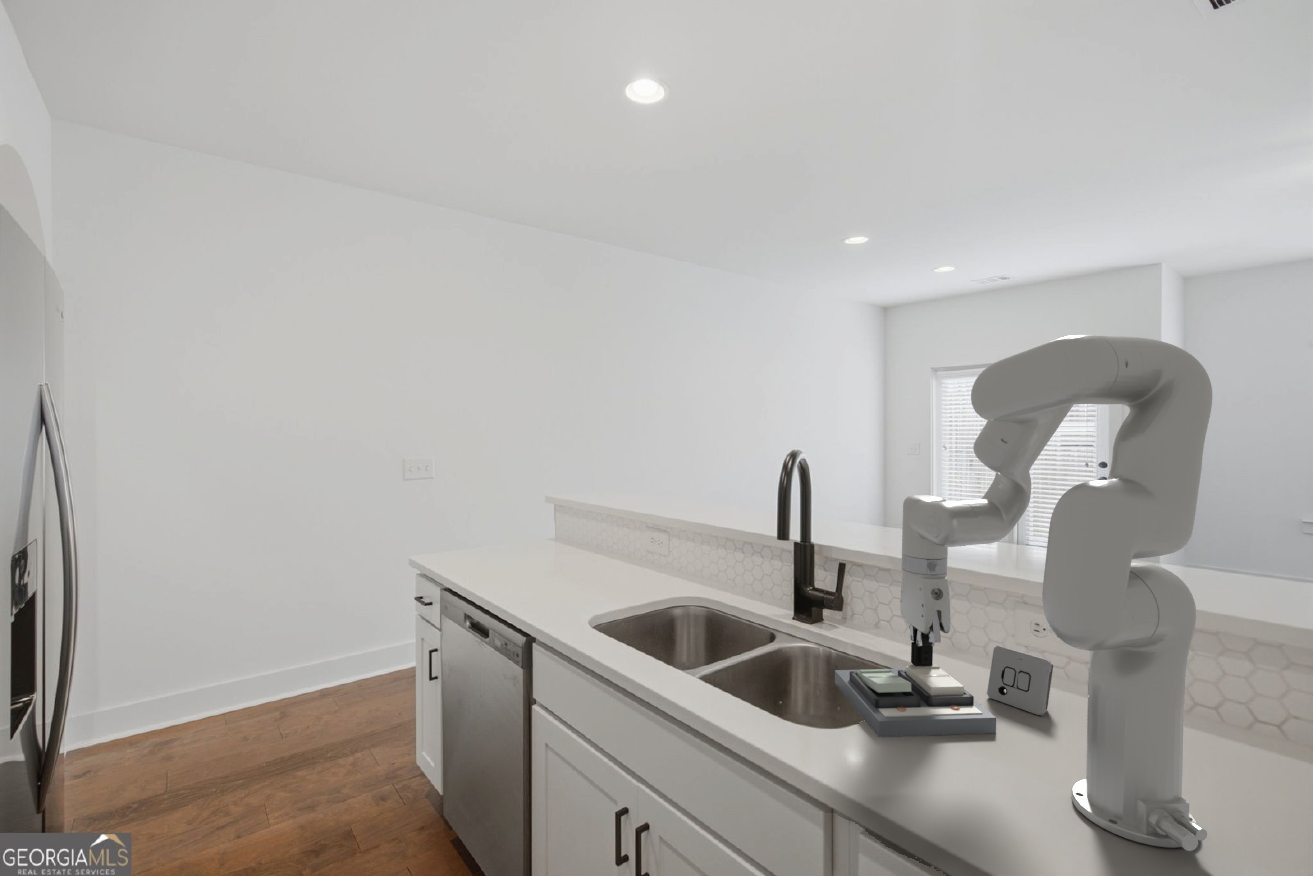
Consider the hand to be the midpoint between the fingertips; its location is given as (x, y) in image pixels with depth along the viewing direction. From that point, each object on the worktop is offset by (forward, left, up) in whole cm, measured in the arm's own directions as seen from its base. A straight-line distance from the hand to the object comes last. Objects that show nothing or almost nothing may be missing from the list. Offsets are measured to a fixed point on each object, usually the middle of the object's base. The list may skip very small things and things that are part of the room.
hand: (921, 665), depth 113 cm
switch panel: (-4, +4, -5) cm, 8 cm away
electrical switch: (-4, -16, -6) cm, 17 cm away
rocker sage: (-4, +9, -1) cm, 10 cm away
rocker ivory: (-4, 0, -1) cm, 4 cm away
